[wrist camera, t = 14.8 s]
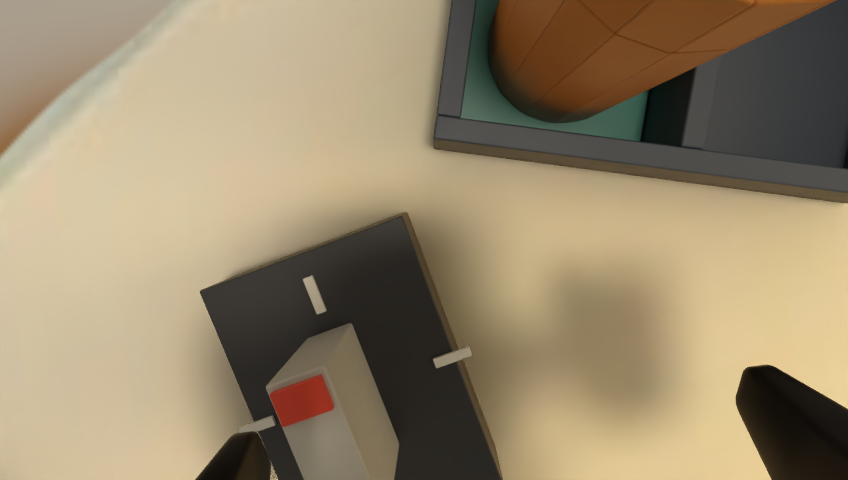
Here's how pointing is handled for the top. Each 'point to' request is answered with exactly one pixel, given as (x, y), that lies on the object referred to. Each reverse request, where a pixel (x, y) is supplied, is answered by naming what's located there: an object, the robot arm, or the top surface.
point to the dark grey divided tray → (676, 113)
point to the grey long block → (334, 411)
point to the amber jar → (616, 47)
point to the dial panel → (380, 341)
